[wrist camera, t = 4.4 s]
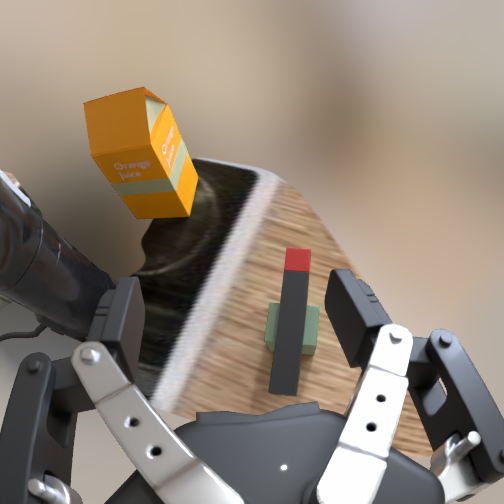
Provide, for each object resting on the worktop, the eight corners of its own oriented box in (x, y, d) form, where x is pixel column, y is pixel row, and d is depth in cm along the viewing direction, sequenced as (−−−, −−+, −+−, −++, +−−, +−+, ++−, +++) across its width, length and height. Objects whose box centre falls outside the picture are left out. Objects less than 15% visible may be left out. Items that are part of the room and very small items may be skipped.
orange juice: (189, 217, 45) (132, 107, 27) (136, 220, 46) (68, 124, 29) (198, 176, 48) (155, 68, 31) (149, 180, 50) (95, 85, 32)
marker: (296, 396, 26) (296, 395, 24) (270, 393, 27) (268, 392, 25) (310, 259, 33) (311, 248, 31) (287, 258, 33) (286, 247, 31)
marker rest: (314, 355, 33) (316, 345, 28) (269, 351, 34) (264, 341, 29) (317, 321, 35) (319, 306, 30) (274, 317, 36) (269, 302, 31)
